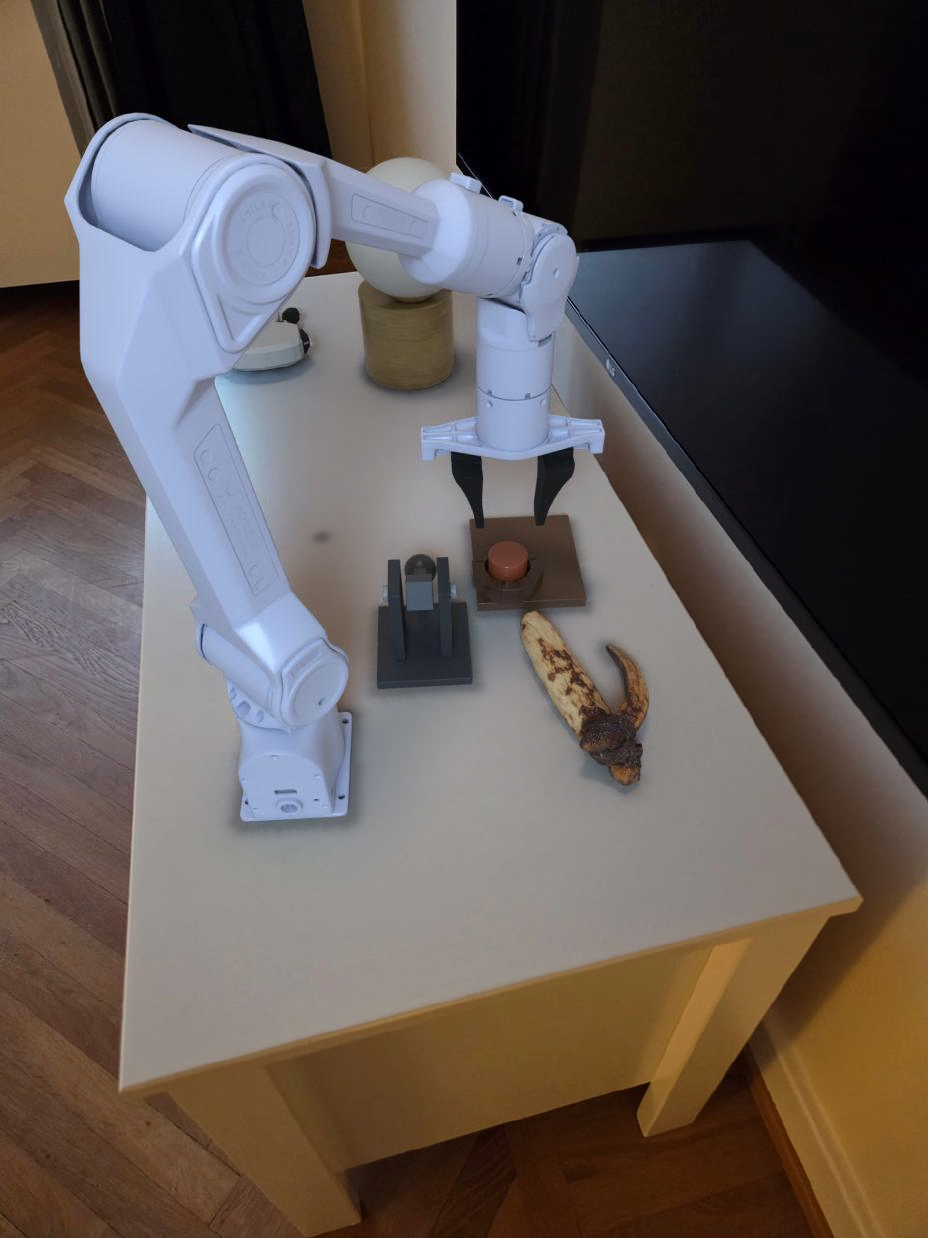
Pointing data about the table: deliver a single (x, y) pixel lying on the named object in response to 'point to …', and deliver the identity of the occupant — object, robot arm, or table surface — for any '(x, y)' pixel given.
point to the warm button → (507, 561)
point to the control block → (528, 565)
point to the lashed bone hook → (590, 699)
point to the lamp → (403, 302)
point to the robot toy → (277, 344)
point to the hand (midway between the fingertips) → (509, 519)
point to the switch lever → (419, 582)
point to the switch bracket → (422, 636)
